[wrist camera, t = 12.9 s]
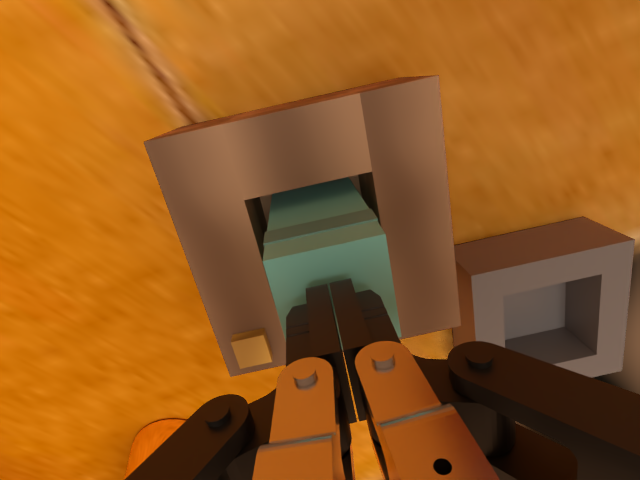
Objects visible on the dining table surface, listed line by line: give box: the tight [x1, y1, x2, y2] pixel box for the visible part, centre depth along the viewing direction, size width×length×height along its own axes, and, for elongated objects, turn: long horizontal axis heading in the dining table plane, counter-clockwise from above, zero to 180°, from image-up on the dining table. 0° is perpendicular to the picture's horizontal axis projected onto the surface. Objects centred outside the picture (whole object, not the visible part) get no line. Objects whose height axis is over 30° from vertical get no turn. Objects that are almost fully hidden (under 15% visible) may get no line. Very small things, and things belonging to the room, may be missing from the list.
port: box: [144, 75, 461, 377], centre depth 21 cm, size 12×12×7 cm
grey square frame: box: [452, 217, 635, 377], centre depth 25 cm, size 9×9×4 cm
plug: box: [263, 177, 402, 350], centre depth 18 cm, size 4×4×10 cm
